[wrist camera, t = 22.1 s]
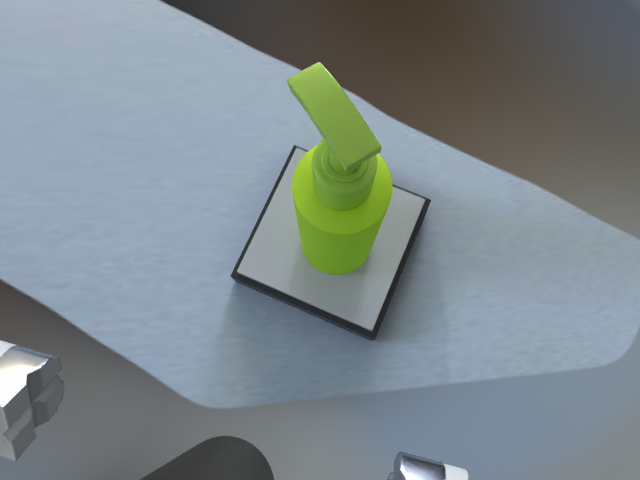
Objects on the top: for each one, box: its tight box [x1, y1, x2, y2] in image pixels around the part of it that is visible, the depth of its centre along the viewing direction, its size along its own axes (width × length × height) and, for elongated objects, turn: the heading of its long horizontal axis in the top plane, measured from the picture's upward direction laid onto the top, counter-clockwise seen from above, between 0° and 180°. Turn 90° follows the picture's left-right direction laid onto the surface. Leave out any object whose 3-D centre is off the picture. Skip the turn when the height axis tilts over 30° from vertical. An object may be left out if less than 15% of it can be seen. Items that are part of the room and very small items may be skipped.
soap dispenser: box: [286, 62, 393, 275], centre depth 32 cm, size 6×7×20 cm
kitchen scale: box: [231, 145, 431, 341], centre depth 44 cm, size 13×13×3 cm
